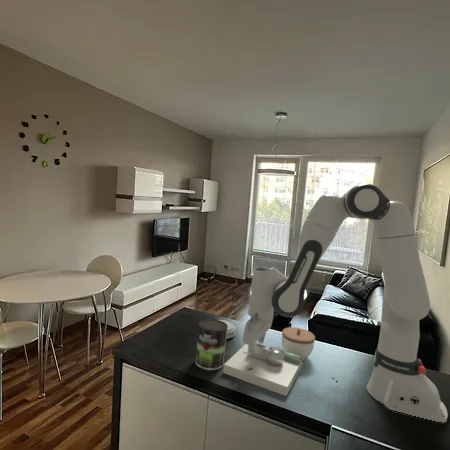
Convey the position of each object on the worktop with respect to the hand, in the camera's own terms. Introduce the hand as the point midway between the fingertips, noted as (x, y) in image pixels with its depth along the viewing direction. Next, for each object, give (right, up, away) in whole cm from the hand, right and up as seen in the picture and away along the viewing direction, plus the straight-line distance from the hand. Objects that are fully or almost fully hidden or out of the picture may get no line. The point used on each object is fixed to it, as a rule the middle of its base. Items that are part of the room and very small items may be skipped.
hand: (256, 347), depth 114 cm
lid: (-13, -4, +24) cm, 27 cm away
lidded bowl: (+17, -7, +10) cm, 21 cm away
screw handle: (+3, -3, -1) cm, 5 cm away
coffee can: (-17, -5, -1) cm, 18 cm away
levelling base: (+2, -7, -3) cm, 8 cm away
